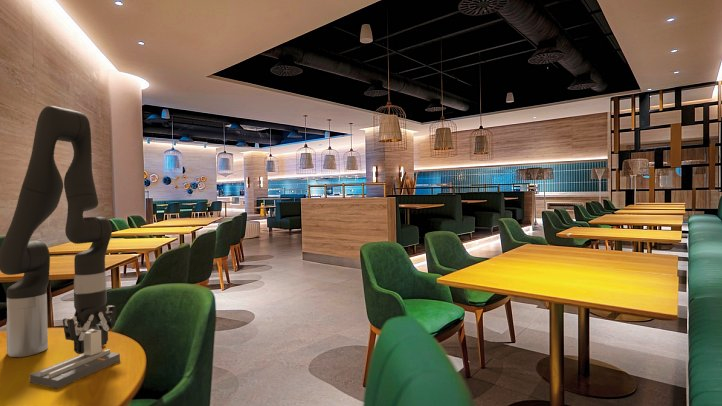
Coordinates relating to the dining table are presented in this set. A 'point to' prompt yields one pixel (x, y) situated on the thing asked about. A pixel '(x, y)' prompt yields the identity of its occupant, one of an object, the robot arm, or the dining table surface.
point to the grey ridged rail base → (73, 369)
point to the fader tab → (92, 342)
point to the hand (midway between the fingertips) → (91, 348)
